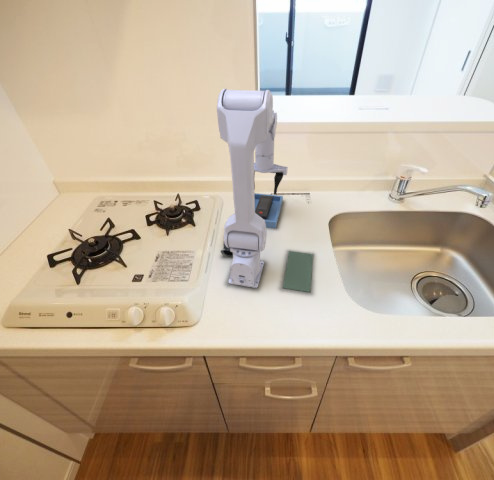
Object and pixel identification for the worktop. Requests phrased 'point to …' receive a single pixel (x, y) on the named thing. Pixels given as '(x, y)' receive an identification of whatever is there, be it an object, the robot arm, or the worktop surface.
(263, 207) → the remote
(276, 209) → the box
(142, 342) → the worktop surface
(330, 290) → the worktop surface
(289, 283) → the mat
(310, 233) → the worktop surface
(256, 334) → the worktop surface
